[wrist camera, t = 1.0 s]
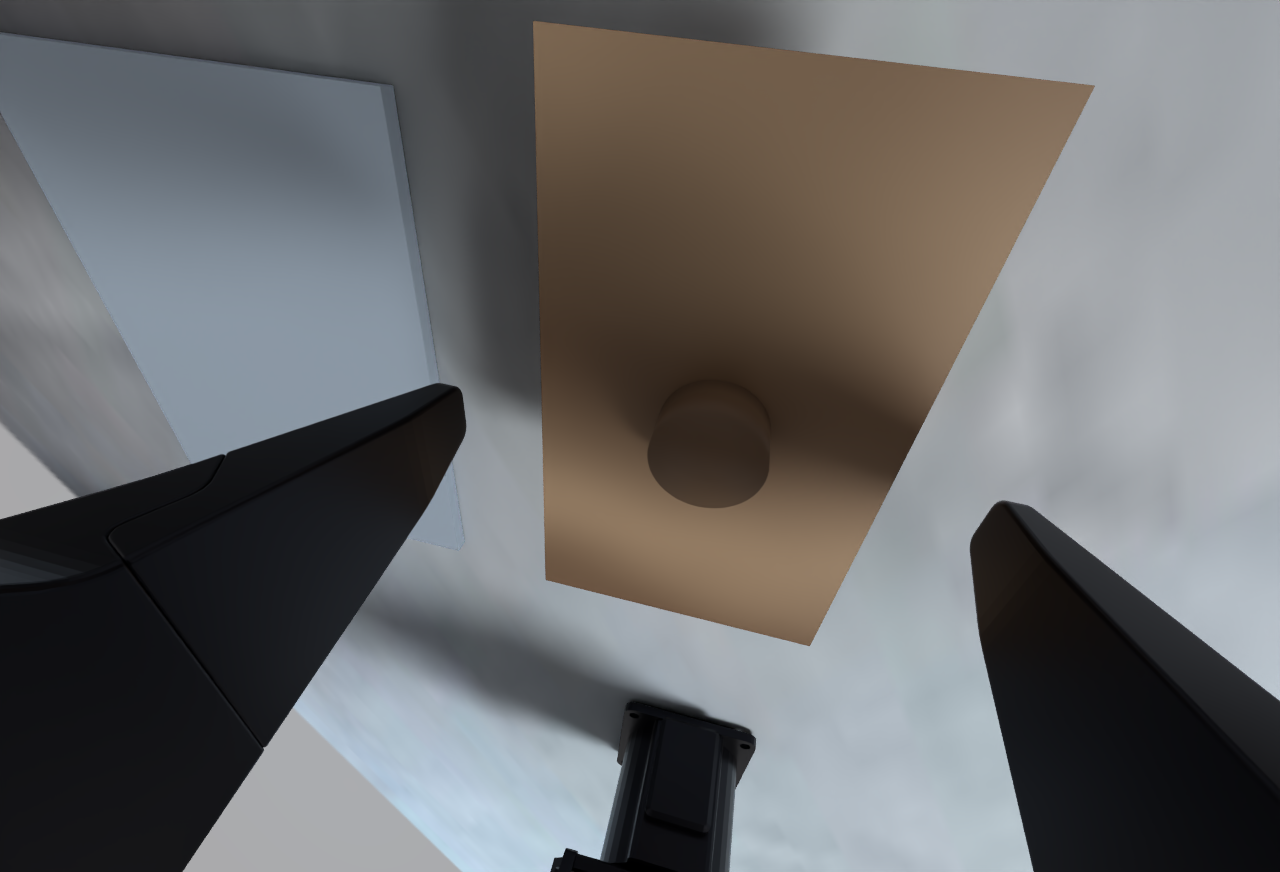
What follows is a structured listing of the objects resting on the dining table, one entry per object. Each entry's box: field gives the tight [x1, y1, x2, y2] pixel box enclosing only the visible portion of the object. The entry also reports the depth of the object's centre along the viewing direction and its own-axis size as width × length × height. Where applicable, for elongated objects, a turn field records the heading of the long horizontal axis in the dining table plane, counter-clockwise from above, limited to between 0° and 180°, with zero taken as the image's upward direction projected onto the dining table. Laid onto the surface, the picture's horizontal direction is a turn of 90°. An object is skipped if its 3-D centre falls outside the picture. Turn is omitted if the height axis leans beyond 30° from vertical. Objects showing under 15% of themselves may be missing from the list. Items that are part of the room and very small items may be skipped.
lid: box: [533, 21, 1095, 646], centre depth 10 cm, size 11×6×3 cm, turn 175°
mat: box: [0, 32, 465, 551], centre depth 18 cm, size 16×12×1 cm
